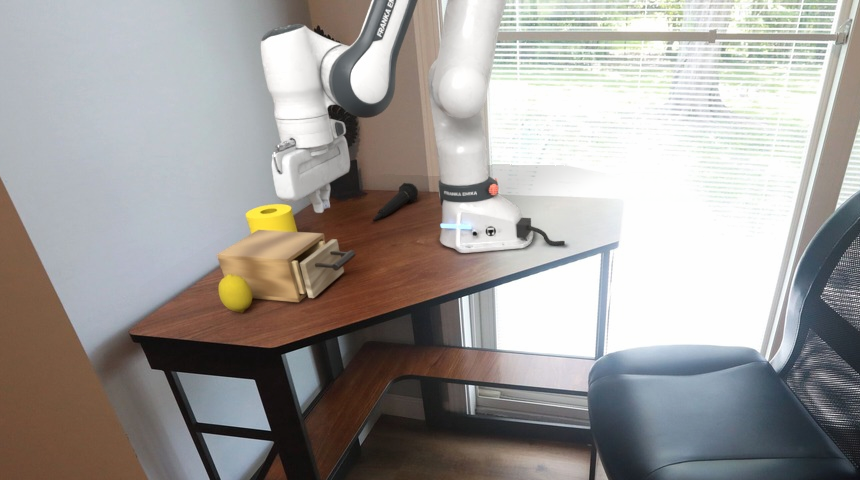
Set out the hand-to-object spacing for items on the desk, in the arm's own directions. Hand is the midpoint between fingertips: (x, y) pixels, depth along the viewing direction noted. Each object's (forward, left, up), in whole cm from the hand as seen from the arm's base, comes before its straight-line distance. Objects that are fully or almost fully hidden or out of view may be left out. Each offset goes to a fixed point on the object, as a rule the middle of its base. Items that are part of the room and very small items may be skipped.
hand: (322, 210), depth 107 cm
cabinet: (+13, -2, -17) cm, 21 cm away
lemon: (+16, +10, -17) cm, 25 cm away
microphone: (+1, -49, -17) cm, 52 cm away
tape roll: (+22, -21, -17) cm, 35 cm away
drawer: (+7, -1, -16) cm, 17 cm away
